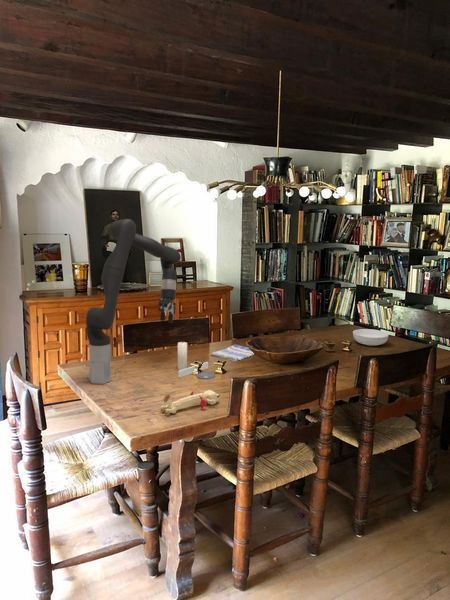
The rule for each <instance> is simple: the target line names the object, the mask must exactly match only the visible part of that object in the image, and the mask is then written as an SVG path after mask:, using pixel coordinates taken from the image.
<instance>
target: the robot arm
mask: <svg viewBox="0 0 450 600" xmlns="http://www.w3.org/2000/svg"><path fill="white" fill-rule="evenodd" d="M109 235H110V236H111V237H112V238H113V239H115V240H116V244H115V246H114V248H113V249H112V252H111V253H110V255H108V257H107V259H106V261H105V263H104V264H103V269H102V273H101V277H100V279H101V280H100V281H101V284H102V285H101V286H102V287H103V291H104V297H105V298H104V304H103V307H94V306H93V307H91V308H89V309H88V311H87V313H86V315H85V316H86V317H85V323H86V325H85V326H86V336H87V337H86V338H87V340H88V347H89V348H88V354H89V355H88V356H89V359H88V360H89V382H90V384H94V385H95V384H98V385H99V384H100V385H105V384H107V383H110V382H111V380H112V371H111V370H112V365H111V364H112V363H111V361H112V359H111V357H112V356H111V355H112V354H111V353H112V352H111V337H110V336H109V335H108V334H106V333H105V332H104V331H105V330H110V329H111V328H112V327H113V324H114V322H115V317H116V311H117V306H118V305H117V304H118V298H119V294H120V289H121V284H122V282H123V279H124V274H125V269H126V266H127V263H128V258H129V254H130V251H131V248H132V246H133V247H136V248H138V249H140V250H141V251H144V252H146V253H147V254H149V255H151V256H153V257H155V258H158V259H159V258H160V259H159V260H160V266H161V272H162V275H161V276H162V277H161V285H160V298H158V299H159V300H158V311H159V312H160V318H159V319H160V320H159V321H161V322H164V321H166V312H167V314H168V316H167V322H168V323H169V324H171V323H174V321H173V320H174V316H175V315H176V306H177V303H176V302H174V300H176V297H177V295H176V294H177V270H176V269H175V268H172V265H175V264H178V263H179V262H180V261H181V258H182V257H181V256H182V255H181V252H179V251H178V250H177V249H176V248H174V247H171V246H168V245H164V244H162V243H161V242H159V241H157V240H155V239H153V238H152V237H148V236H146V235H142V234H139V233H137V225H136V223H135V222H134V220H132V219H130V218H123V219H119V220H115V221H113V222H112V223H111V224H110V226H109ZM103 330H104V331H103Z"/></svg>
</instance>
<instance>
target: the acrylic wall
mask: <svg viewBox="0 0 450 600" xmlns="http://www.w3.org/2000/svg"><path fill="white" fill-rule="evenodd" d="M202 363H203V364H202ZM202 363H201V364H202V366H201V368H200V369H201V371H204V370H206V369H209V362H208V361H205V362H202ZM194 369H195V365H193V366H189V367H187V368H186V369H183V370H178V371H177V373H178V374H177V375H178V376H177V377H178V378H182V377H184V376H188V375H191V374H193V373H192V372H193V370H194Z"/></svg>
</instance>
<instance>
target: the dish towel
mask: <svg viewBox="0 0 450 600" xmlns="http://www.w3.org/2000/svg"><path fill="white" fill-rule="evenodd" d="M249 348H250V347H247V346H243V345H239V344H233V345H231V346H228V347H227V348H222V349H219V350H217V351H213V352H211V356H213V357H215V358H220V359H223V360H227V359H228V361H231V360H232V362H235V361H237V362H239V361H238V360H240V361H243V360H245V359H244V358H246V359H247V357H248V358H250V356H251V357H252V356H255V355H254V353H253V352H252V351H251V350H250V349H249ZM242 359H243V360H242Z"/></svg>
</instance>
